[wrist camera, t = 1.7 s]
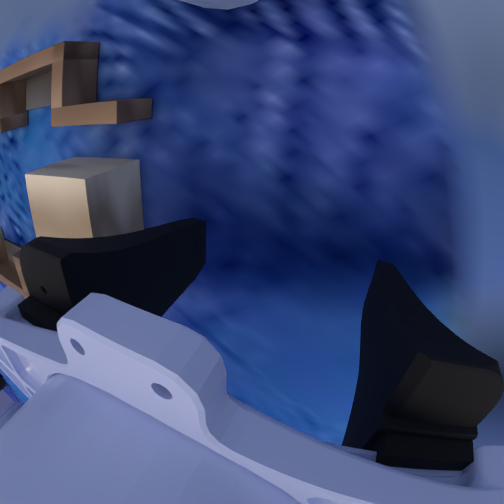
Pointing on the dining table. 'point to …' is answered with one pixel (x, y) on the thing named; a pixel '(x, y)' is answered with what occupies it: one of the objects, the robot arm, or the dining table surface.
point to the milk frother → (2, 383)
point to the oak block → (86, 197)
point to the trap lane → (56, 110)
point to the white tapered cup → (220, 3)
